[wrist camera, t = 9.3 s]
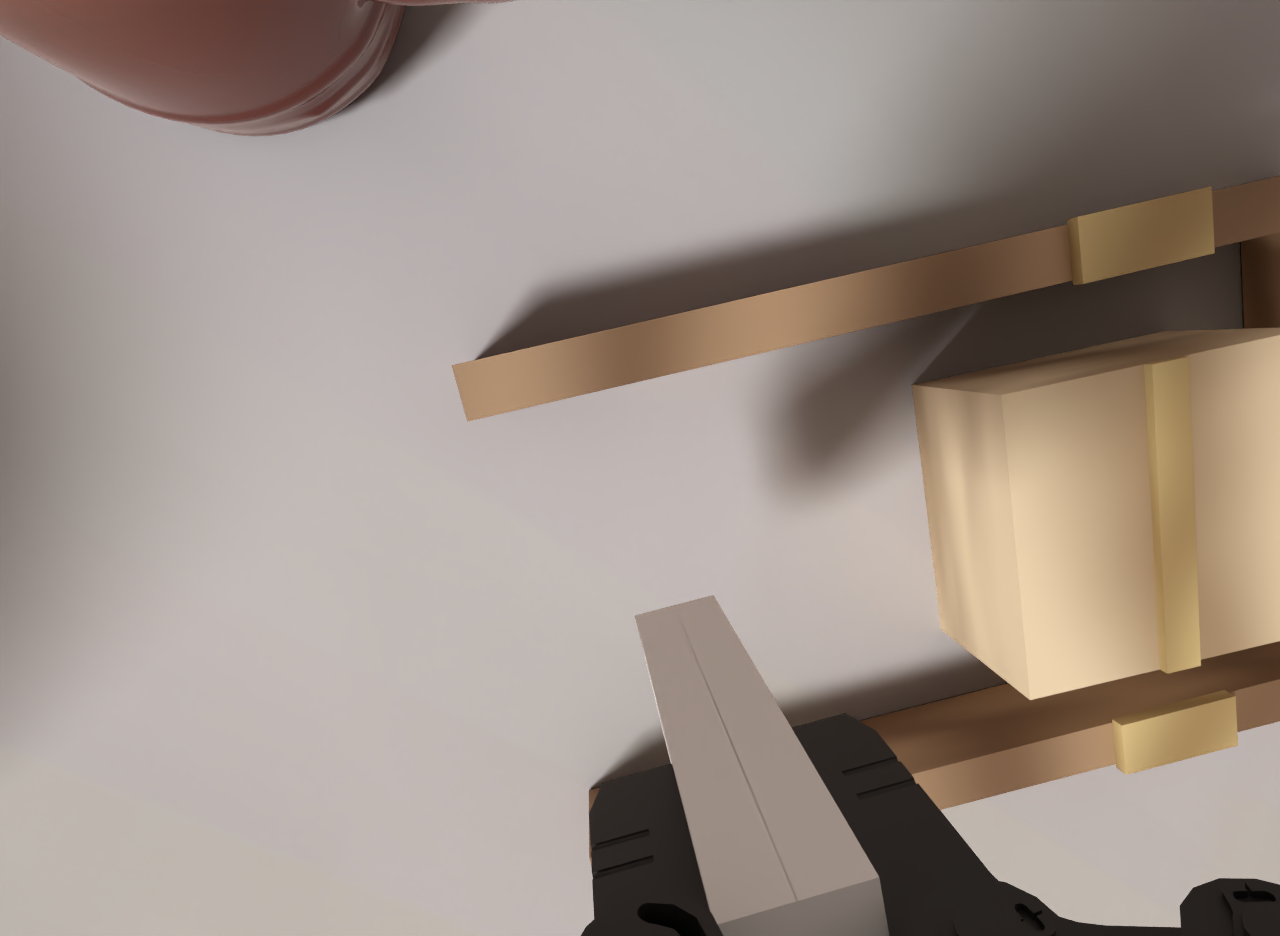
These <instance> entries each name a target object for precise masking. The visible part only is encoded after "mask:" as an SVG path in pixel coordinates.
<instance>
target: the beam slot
mask: <svg viewBox="0 0 1280 936" xmlns="http://www.w3.org/2000/svg"><path fill="white" fill-rule="evenodd" d="M1067 221H1068V224H1066V225H1062V226H1058V227H1053V228H1049V229H1045V230H1040V231H1036V232H1032V233H1027V234H1023V235H1019V236H1014V237H1010V238H1005V239H1001V240H997V241H992V242H988V243H984V244H979V245H975V246H971V247H966V248H962V249H957V250H953V251H949V252H944V253H940V254H936V255H931V256H927V257H923V258H918V259H914V260H909V261H905V262H901V263H896V264H892V265H888V266H883V267H879V268H875V269H870V270H866V271H862V272H857V273H853V274H848V275H844V276H840V277H835V278H831V279H827V280H822V281H818V282H814V283H809V284H805V285H800V286H796V287H792V288H787V289H783V290H779V291H774V292H770V293H766V294H761V295H757V296H752V297H748V298H744V299H739V300H735V301H731V302H726V303H722V304H718V305H713V306H709V307H705V308H700V309H696V310H691V311H687V312H683V313H678V314H674V315H670V316H665V317H661V318H657V319H652V320H648V321H643V322H639V323H635V324H630V325H626V326H622V327H617V328H613V329H609V330H604V331H600V332H595V333H591V334H587V335H582V336H578V337H574V338H569V339H565V340H561V341H556V342H552V343H548V344H543V345H539V346H534V347H530V348H526V349H521V350H517V351H513V352H508V353H504V354H500V355H495V356H491V357H486V358H482V359H478V360H473V361H469V362H465V363H460V364H456V365H452V368H453V372H454V375H455V379H456V382H457V386H458V389H459V393H460V397H461V400H462V404H463V407H464V411H465V414H466V418H467V421H471V420H476V419H480V418H484V417H489V416H493V415H497V414H501V413H506V412H510V411H514V410H519V409H523V408H527V407H531V406H536V405H540V404H544V403H549V402H553V401H557V400H562V399H566V398H570V397H574V396H579V395H583V394H587V393H592V392H596V391H600V390H605V389H609V388H613V387H617V386H622V385H626V384H630V383H635V382H639V381H643V380H648V379H652V378H656V377H660V376H665V375H669V374H673V373H678V372H682V371H686V370H691V369H695V368H699V367H703V366H708V365H712V364H716V363H721V362H725V361H729V360H734V359H738V358H742V357H746V356H751V355H755V354H759V353H764V352H768V351H772V350H777V349H781V348H785V347H789V346H794V345H798V344H802V343H807V342H811V341H815V340H819V339H824V338H828V337H832V336H837V335H841V334H845V333H850V332H854V331H858V330H862V329H867V328H871V327H875V326H880V325H884V324H888V323H893V322H897V321H901V320H905V319H910V318H914V317H918V316H923V315H927V314H931V313H936V312H940V311H944V310H948V309H953V308H957V307H961V306H966V305H970V304H974V303H979V302H983V301H987V300H991V299H996V298H1000V297H1004V296H1009V295H1013V294H1017V293H1022V292H1026V291H1030V290H1034V289H1039V288H1043V287H1047V286H1052V285H1056V284H1060V283H1065V282H1069V281H1073V285H1079V284H1085V283H1090V282H1094V281H1098V280H1102V279H1107V278H1111V277H1115V276H1120V275H1124V274H1128V273H1132V272H1137V271H1141V270H1145V269H1150V268H1154V267H1158V266H1162V265H1167V264H1171V263H1175V262H1180V261H1184V260H1188V259H1193V258H1197V257H1201V256H1205V255H1210V254H1214V253H1215V247H1219V246H1224V245H1228V244H1232V243H1236V242H1241V261H1242V286H1243V312H1244V329H1248V328H1280V176H1276V177H1271V178H1267V179H1263V180H1258V181H1254V182H1250V183H1245V184H1241V185H1237V186H1232V187H1228V188H1223V189H1219V190H1215V191H1212V186H1210V187H1205V188H1201V189H1197V190H1192V191H1188V192H1183V193H1179V194H1175V195H1170V196H1166V197H1162V198H1157V199H1153V200H1149V201H1144V202H1140V203H1135V204H1131V205H1127V206H1122V207H1118V208H1114V209H1109V210H1105V211H1101V212H1096V213H1092V214H1087V215H1083V216H1079V217H1075V218H1071V219H1067ZM1278 721H1280V641H1278V642H1274V643H1269V644H1265V645H1261V646H1257V647H1253V648H1248V649H1244V650H1240V651H1236V652H1231V653H1227V654H1223V655H1219V656H1215V657H1210V658H1206V659H1202V660H1201V666H1198V667H1194V668H1190V669H1185V670H1181V671H1177V672H1173V673H1168V674H1167V673H1165V672H1163V671H1162V670H1155V671H1151V672H1147V673H1143V674H1139V675H1134V676H1130V677H1126V678H1122V679H1117V680H1113V681H1109V682H1105V683H1101V684H1096V685H1092V686H1088V687H1084V688H1079V689H1075V690H1071V691H1067V692H1063V693H1058V694H1054V695H1050V696H1046V697H1042V698H1037V699H1033V700H1029V699H1028V698H1027V697H1025V696H1024V695H1023V694H1022V693H1020V692H1019V691H1018V690H1017V689H1015V688H1014V687H1013V686H1012V685H1010V684H1009V683H1007V684H1003V685H999V686H995V687H991V688H987V689H983V690H980V691H976V692H972V693H968V694H964V695H960V696H956V697H952V698H948V699H944V700H940V701H936V702H933V703H929V704H925V705H921V706H917V707H913V708H909V709H905V710H901V711H897V712H893V713H889V714H885V715H882V716H878V717H874V718H870V719H866V720H862V721H860V722H862V723H863V724H865V725H867V726H869V727H871V728H872V729H874V730H876V731H877V732H878V734H879V735H880V736H881V737H882V739H883V740H884V741H885V742H886V744H887V745H888V746H889V747H890V749H891V750H892V751H893V752H894V754H895V755H896V756H897V759H898V761H901V762H902V763H903V765H904V766H905V767H906V768H907V770H908V771H909V772H910V773H911V775H912V776H913V777H914V780H915V782H916V784H918V783H919V785H920V786H921V787H922V788H923V790H924V791H925V792H926V793H927V795H928V796H929V797H930V798H931V800H932V801H933V802H934V803H935V805H936V806H937V807H938V808H939V810H941V809H945V808H949V807H953V806H957V805H961V804H964V803H968V802H972V801H976V800H980V799H984V798H987V797H991V796H995V795H999V794H1003V793H1006V792H1010V791H1014V790H1018V789H1022V788H1026V787H1029V786H1033V785H1037V784H1041V783H1045V782H1049V781H1052V780H1056V779H1060V778H1064V777H1068V776H1072V775H1075V774H1079V773H1083V772H1087V771H1091V770H1094V769H1098V768H1102V767H1106V766H1110V765H1114V764H1116V767H1117V768H1118V769H1119V770H1120V771H1122V772H1123V773H1124V774H1125V775H1127V774H1131V773H1134V772H1138V771H1142V770H1146V769H1150V768H1153V767H1157V766H1161V765H1165V764H1169V763H1173V762H1176V761H1180V760H1184V759H1188V758H1192V757H1195V756H1199V755H1203V754H1207V753H1211V752H1215V751H1218V750H1222V749H1226V748H1230V747H1234V746H1237V745H1238V735H1237V732H1240V731H1244V730H1248V729H1251V728H1255V727H1259V726H1263V725H1267V724H1270V723H1274V722H1278ZM599 789H600V787H599V788H595V789H591V790H589V812H590V810H591V808H592V805H593V803H594V801H595V798H596V796H597V794H598V792H599ZM591 851H592V849H591V843H590V823H589V854H590V861H591ZM591 865H592V862H591Z"/></svg>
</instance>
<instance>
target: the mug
mask: <svg viewBox="0 0 1280 936" xmlns="http://www.w3.org/2000/svg"><path fill="white" fill-rule="evenodd" d="M512 1H516V0H0V35H1V36H3V37H5V38H6V39H8V40H10V41H12V42H13V43H15V44H17V45H19V46H20V47H22V48H24V49H26V50H28V51H29V52H31V53H33V54H35V55H37V56H39V57H40V58H42V59H44V60H46V61H48V62H50V63H52V64H54V65H55V66H57V67H59V68H61V69H63V70H65V71H67V72H69V73H71V74H72V75H74V76H76V77H77V78H78V79H80V80H81V81H83V82H84V83H86V84H87V85H89V86H90V87H92V88H94V89H95V90H97V91H99V92H101V93H102V94H104V95H106V96H108V97H109V98H111V99H113V100H116V101H118V102H120V103H122V104H124V105H126V106H128V107H131V108H134V109H136V110H139V111H142V112H144V113H147V114H150V115H154V116H158V117H161V118H165V119H169V120H173V121H179V122H184V123H188V124H192V125H196V126H200V127H202V128H206V129H210V130H214V131H217V132H222V133H228V134H234V135H243V136H271V135H278V134H285V133H289V132H293V131H297V130H301V129H304V128H307V127H309V126H312V125H315V124H317V123H319V122H321V121H323V120H325V119H327V118H329V117H331V116H333V115H334V114H336V113H337V112H339V111H340V110H342V109H343V108H345V107H346V106H347V105H349V104H350V103H351V102H352V101H354V100H355V99H356V98H357V97H358V96H359V95H361V94H362V93H363V92H364V91H365V90H366V89H367V88H368V87H369V86H370V85H371V84H372V83H373V82H374V80H375V79H376V78H377V77H378V75H379V74H380V72H381V70H382V69H383V67H384V65H385V63H386V61H387V59H388V57H389V54H390V52H391V49H392V47H393V44H394V42H395V39H396V36H397V33H398V30H399V27H400V23H401V20H402V16H403V10H404V6H429V5H442V4H455V3H503V2H512Z"/></svg>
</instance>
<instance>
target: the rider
mask: <svg viewBox="0 0 1280 936" xmlns="http://www.w3.org/2000/svg"><path fill="white" fill-rule="evenodd" d="M912 390H913V398H914V407H915V415H916V423H917V432H918V440H919V448H920V457H921V465H922V474H923V482H924V490H925V499H926V507H927V515H928V524H929V532H930V541H931V549H932V557H933V566H934V574H935V582H936V591H937V599H938V608H939V616H940V624H941V630H942V631H943V632H945V633H946V634H947V635H949V636H950V637H951V638H952V639H954V640H955V641H956V642H957V643H959V644H960V645H961V646H962V647H964V648H965V649H966V650H967V651H969V652H970V653H971V654H972V655H974V656H975V657H976V658H978V659H979V660H980V661H981V662H983V663H984V664H985V665H986V666H988V667H989V668H990V669H991V670H993V671H994V672H995V673H996V674H998V675H999V676H1000V677H1002V678H1003V679H1004V680H1005V681H1007V682H1008V683H1009V684H1010V685H1012V686H1013V687H1014V688H1015V689H1017V690H1018V691H1019V692H1020V693H1022V694H1023V695H1024V696H1025V697H1027V698H1028V699H1029V700H1033V699H1037V698H1042V697H1046V696H1050V695H1054V694H1058V693H1063V692H1067V691H1071V690H1075V689H1079V688H1084V687H1088V686H1092V685H1096V684H1101V683H1105V682H1109V681H1113V680H1117V679H1122V678H1126V677H1130V676H1134V675H1139V674H1143V673H1147V672H1151V671H1155V670H1162V671H1163V672H1165V673H1167V674H1168V673H1173V672H1177V671H1181V670H1185V669H1190V668H1194V667H1198V666H1201V660H1202V659H1206V658H1210V657H1215V656H1219V655H1223V654H1227V653H1231V652H1236V651H1240V650H1244V649H1248V648H1253V647H1257V646H1261V645H1265V644H1269V643H1274V642H1278V641H1280V328H1248V329H1213V330H1178V331H1162V332H1158V333H1153V334H1148V335H1144V336H1139V337H1134V338H1130V339H1125V340H1120V341H1115V342H1111V343H1106V344H1101V345H1097V346H1092V347H1087V348H1083V349H1078V350H1073V351H1069V352H1064V353H1059V354H1055V355H1050V356H1045V357H1041V358H1036V359H1031V360H1026V361H1022V362H1017V363H1012V364H1008V365H1003V366H998V367H994V368H989V369H984V370H980V371H975V372H970V373H966V374H961V375H956V376H952V377H947V378H942V379H937V380H933V381H928V382H923V383H919V384H914V385H912Z"/></svg>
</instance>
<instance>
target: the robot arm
mask: <svg viewBox="0 0 1280 936" xmlns="http://www.w3.org/2000/svg"><path fill="white" fill-rule="evenodd" d="M635 619H636V623H637V627H638V631H639V635H640V639H641V643H642V647H643V652H644V656H645V660H646V664H647V668H648V672H649V676H650V680H651V684H652V689H653V693H654V697H655V701H656V705H657V709H658V713H659V717H660V721H661V726H662V730H663V734H664V738H665V742H666V746H667V750H668V754H669V758H670V762H671V764H669V765H665V766H662V767H658V768H655V769H651V770H647V771H644V772H640V773H636V774H633V775H629V776H626V777H622V778H618V779H615V780H611V781H607V782H604V783H602V785H601V787H600V789H599V792H598V794H597V796H596V798H595V801H594V803H593V805H592V808H591V810H590V812H589V823H590V843H591V849H592V851H591V862H592V874H593V880H592V882H593V901H594V920H593V921H592V922H591V923H590V924H589V925H588V926H587V927H586V928H585V930H584V931H583V933H582V935H581V936H1280V885H1279V884H1274V883H1270V882H1266V881H1262V880H1258V879H1226V878H1219V879H1216V880H1214V881H1211V882H1208V883H1205V884H1202V885H1200V886H1197V887H1194V888H1193V889H1192V890H1191V891H1190V893H1189V894H1188V896H1187V897H1186V898H1185V900H1184V901H1183V902H1182V904H1181V905H1180V917H1181V928H1175V927H1138V926H1104V925H1096V924H1088V923H1079V922H1075V921H1072V920H1068V919H1065V918H1062V917H1059V916H1057V915H1056V914H1055V913H1054V912H1053V911H1052V910H1051V909H1049V908H1048V907H1047V906H1046V905H1045V904H1044V903H1043V902H1041V901H1040V900H1039V899H1038V898H1037V897H1035V896H1033V895H1031V894H1029V893H1027V892H1025V891H1023V890H1020V889H1018V888H1016V887H1014V886H1012V885H1010V884H1008V883H1006V882H1001V881H998V880H997V879H996V878H995V877H994V876H993V875H992V874H991V873H990V872H989V871H988V869H987V868H986V867H985V866H984V864H983V863H982V862H981V861H980V859H979V858H978V857H977V856H976V854H975V853H974V852H973V851H972V849H971V848H970V847H969V846H968V844H967V843H966V842H965V841H964V839H963V838H962V837H961V836H960V834H959V833H958V832H957V831H956V830H955V828H954V827H953V826H952V825H951V823H950V822H949V821H948V820H947V818H946V817H945V816H944V815H943V813H942V812H941V811H940V810H939V808H938V807H937V806H936V805H935V803H934V802H933V801H932V800H931V798H930V797H929V796H928V795H927V793H926V792H925V791H924V790H923V788H922V787H921V786H920V785H919V783H918V784H916V782H915V780H914V777H913V776H912V775H911V773H910V772H909V771H908V770H907V768H906V767H905V766H904V765H903V763H902V762H901V761H898V759H897V756H896V755H895V754H894V752H893V751H892V750H891V749H890V747H889V746H888V745H887V744H886V742H885V741H884V740H883V739H882V737H881V736H880V735H879V734H878V732H877V731H876V730H874V729H872V728H871V727H869V726H867V725H865V724H863V723H862V722H860V721H858V720H856V719H855V718H853V717H851V716H849V715H847V714H846V713H844V714H841V715H837V716H833V717H830V718H826V719H822V720H819V721H815V722H812V723H808V724H804V725H801V726H797V727H793V728H791V726H790V725H789V723H788V721H787V719H786V718H785V716H784V714H783V713H782V711H781V709H780V708H779V706H778V704H777V702H776V701H775V699H774V697H773V696H772V694H771V692H770V691H769V689H768V687H767V686H766V684H765V682H764V680H763V679H762V677H761V675H760V674H759V672H758V670H757V669H756V667H755V665H754V663H753V662H752V660H751V658H750V657H749V655H748V653H747V652H746V650H745V648H744V646H743V645H742V643H741V641H740V640H739V638H738V636H737V635H736V633H735V631H734V629H733V628H732V626H731V624H730V623H729V621H728V619H727V618H726V616H725V614H724V612H723V611H722V609H721V607H720V606H719V604H718V602H717V601H716V599H715V597H714V595H713V596H709V597H705V598H701V599H697V600H693V601H689V602H686V603H682V604H678V605H674V606H670V607H666V608H662V609H659V610H655V611H651V612H647V613H643V614H639V615H636V616H635Z"/></svg>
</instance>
